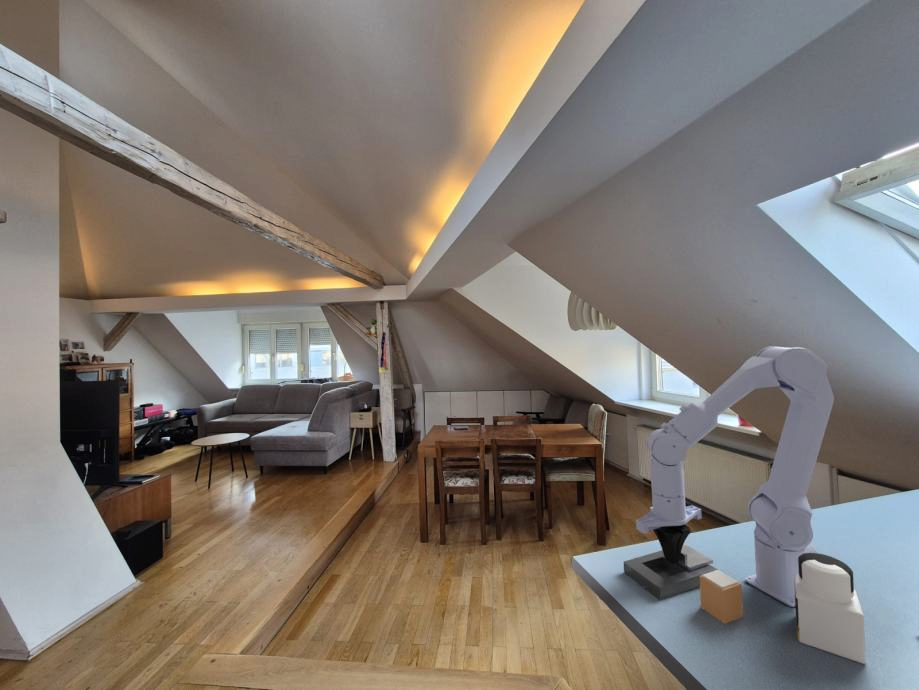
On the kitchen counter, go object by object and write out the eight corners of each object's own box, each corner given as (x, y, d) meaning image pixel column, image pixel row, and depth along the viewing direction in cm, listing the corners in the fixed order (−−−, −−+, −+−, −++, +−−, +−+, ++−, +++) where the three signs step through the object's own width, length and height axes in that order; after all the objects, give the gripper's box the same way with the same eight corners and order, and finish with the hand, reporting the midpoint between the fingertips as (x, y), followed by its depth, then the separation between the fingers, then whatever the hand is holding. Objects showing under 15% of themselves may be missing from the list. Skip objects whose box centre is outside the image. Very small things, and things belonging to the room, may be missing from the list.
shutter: (686, 547, 80) (685, 535, 80) (713, 563, 74) (712, 550, 74) (663, 554, 78) (663, 542, 78) (689, 570, 72) (689, 557, 72)
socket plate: (677, 556, 81) (676, 544, 81) (717, 580, 73) (717, 567, 73) (624, 572, 77) (623, 560, 77) (660, 600, 68) (659, 586, 68)
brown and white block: (718, 600, 67) (717, 568, 67) (743, 616, 63) (741, 582, 63) (701, 607, 66) (699, 574, 66) (724, 624, 62) (722, 588, 62)
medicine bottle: (795, 614, 63) (792, 542, 63) (857, 633, 59) (853, 556, 58) (798, 642, 58) (794, 564, 57) (866, 666, 53) (862, 580, 53)
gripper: (678, 479, 81) (681, 542, 81) (623, 491, 76) (626, 558, 76) (709, 491, 74) (713, 560, 74) (651, 505, 69) (655, 579, 70)
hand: (671, 560), depth 75 cm, fingers closed
